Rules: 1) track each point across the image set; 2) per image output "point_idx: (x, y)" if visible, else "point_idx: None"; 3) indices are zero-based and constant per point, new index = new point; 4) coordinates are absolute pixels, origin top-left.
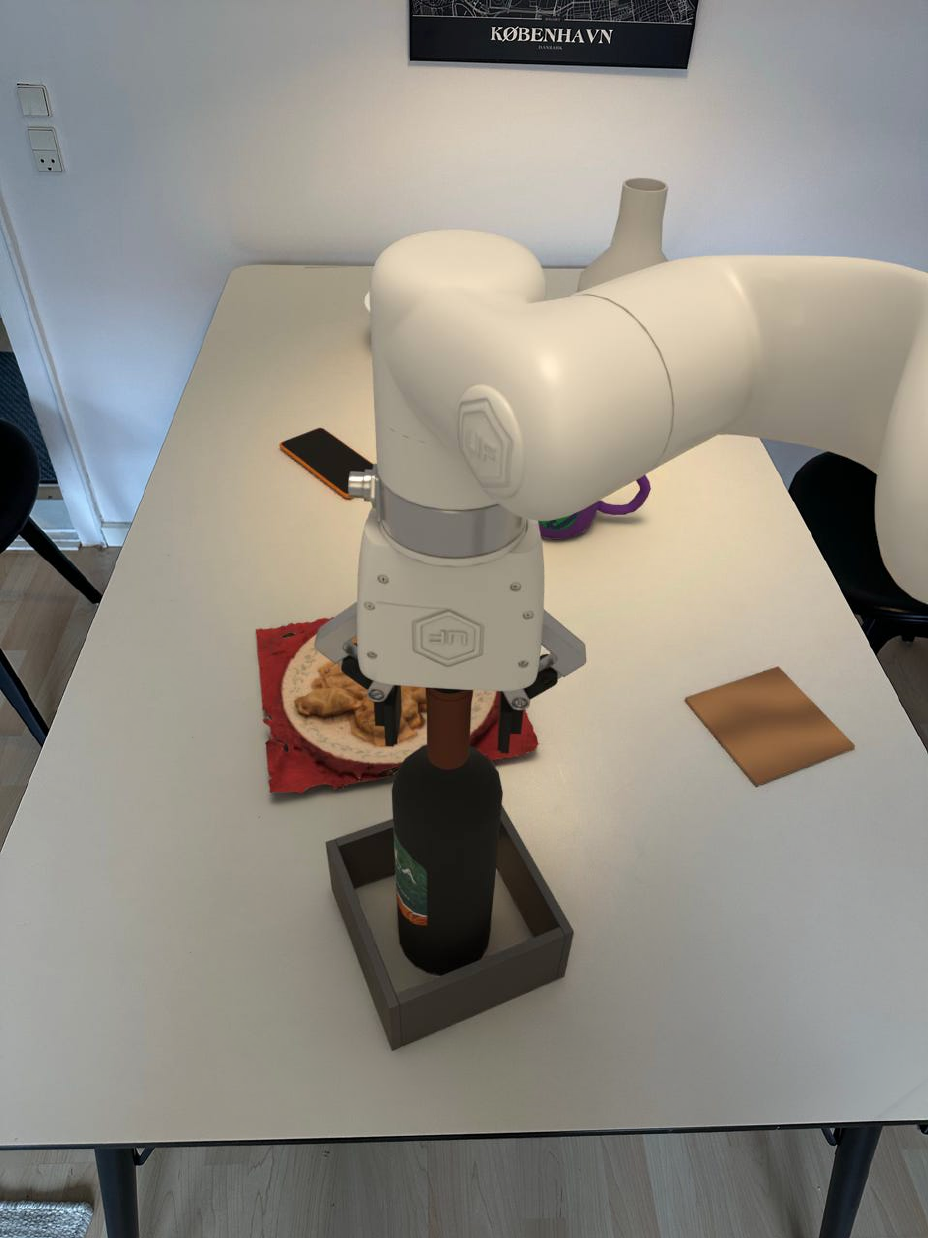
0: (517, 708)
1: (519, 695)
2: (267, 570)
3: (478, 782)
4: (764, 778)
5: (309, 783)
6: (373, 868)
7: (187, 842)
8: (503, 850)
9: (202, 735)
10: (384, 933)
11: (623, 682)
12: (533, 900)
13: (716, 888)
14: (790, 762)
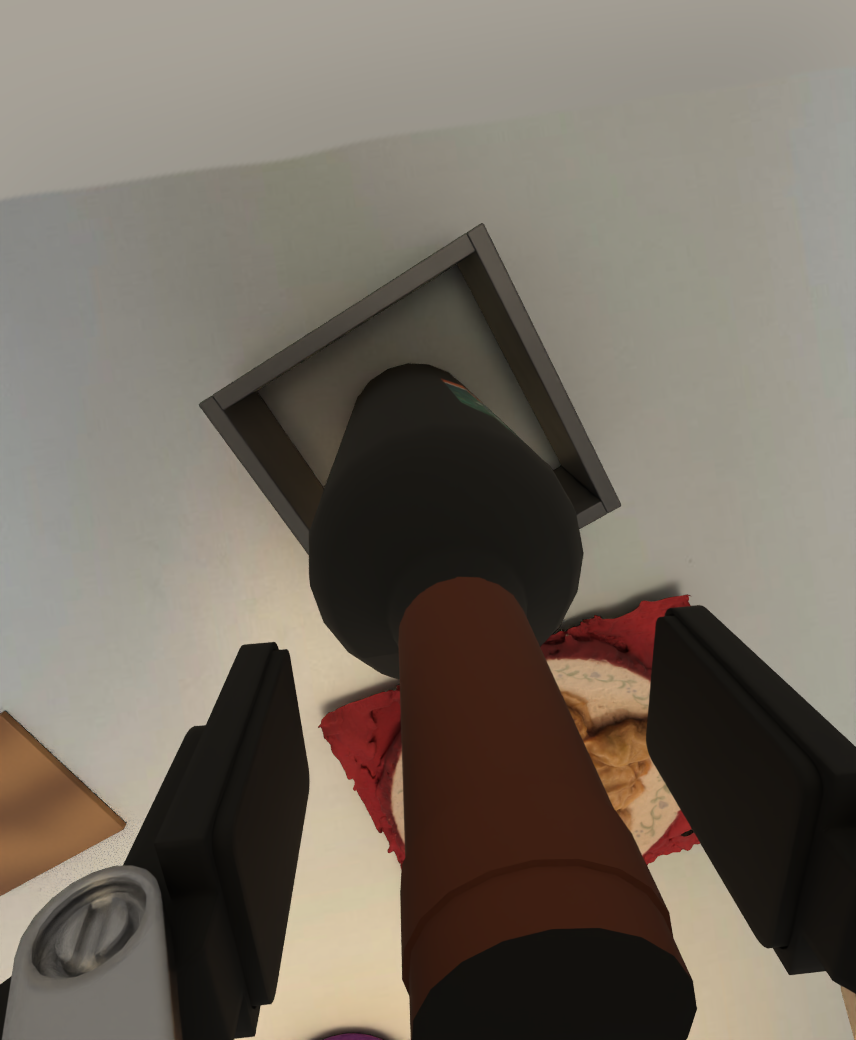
0: (124, 878)
1: (56, 1008)
2: (728, 919)
3: (363, 570)
4: None
5: (633, 617)
6: None
7: (781, 509)
8: None
9: (782, 667)
10: (497, 415)
11: None
12: (283, 469)
13: (39, 549)
14: None
